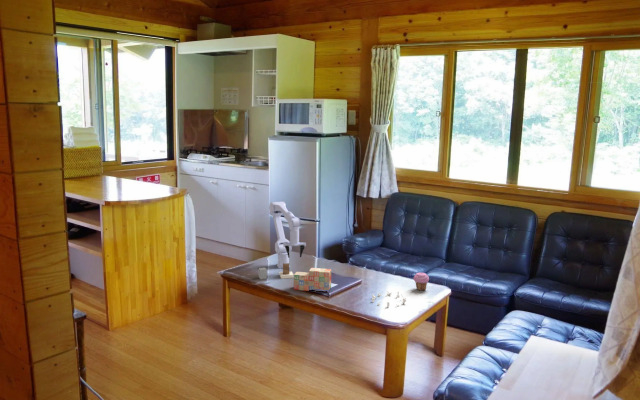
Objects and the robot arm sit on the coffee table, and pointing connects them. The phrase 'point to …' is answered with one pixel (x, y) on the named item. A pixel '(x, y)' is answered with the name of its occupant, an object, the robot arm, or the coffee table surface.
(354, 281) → the coffee table surface
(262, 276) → the grey rectangular block
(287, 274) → the cream slab
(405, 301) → the game piece set
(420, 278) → the cupcake
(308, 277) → the stack of blocks
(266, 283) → the coffee table surface
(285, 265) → the walnut block
